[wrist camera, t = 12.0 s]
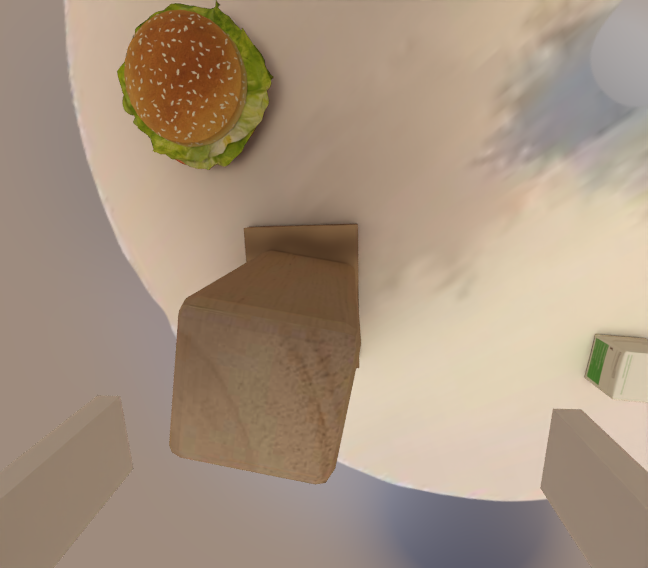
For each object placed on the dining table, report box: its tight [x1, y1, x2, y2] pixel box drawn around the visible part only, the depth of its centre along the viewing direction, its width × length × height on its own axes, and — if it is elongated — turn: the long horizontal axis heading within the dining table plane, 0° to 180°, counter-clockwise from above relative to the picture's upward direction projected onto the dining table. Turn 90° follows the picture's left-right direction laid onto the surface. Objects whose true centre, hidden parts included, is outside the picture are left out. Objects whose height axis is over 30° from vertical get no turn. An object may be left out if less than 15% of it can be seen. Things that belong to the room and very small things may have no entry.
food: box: [117, 1, 273, 170], centre depth 33 cm, size 14×14×8 cm
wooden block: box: [169, 250, 361, 484], centre depth 29 cm, size 10×10×20 cm
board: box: [244, 224, 359, 368], centre depth 40 cm, size 16×12×3 cm
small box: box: [585, 334, 648, 403], centre depth 38 cm, size 6×6×5 cm
